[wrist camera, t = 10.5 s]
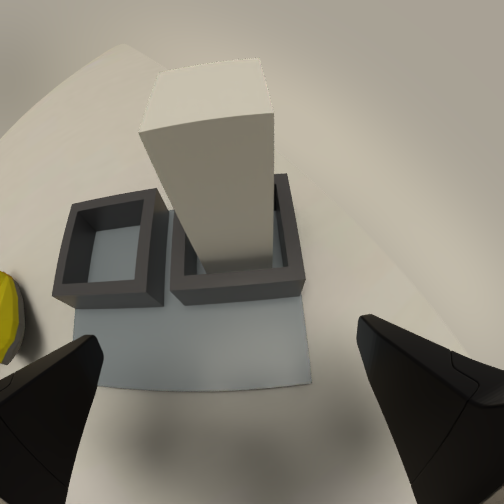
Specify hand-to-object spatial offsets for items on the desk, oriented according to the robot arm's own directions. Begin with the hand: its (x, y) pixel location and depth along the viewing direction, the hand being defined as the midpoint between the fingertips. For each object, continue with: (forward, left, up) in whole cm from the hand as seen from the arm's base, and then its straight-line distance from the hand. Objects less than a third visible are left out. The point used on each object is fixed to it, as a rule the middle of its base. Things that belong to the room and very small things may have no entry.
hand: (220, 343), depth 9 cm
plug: (+7, -3, -8) cm, 11 cm away
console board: (+6, +2, -9) cm, 11 cm away
